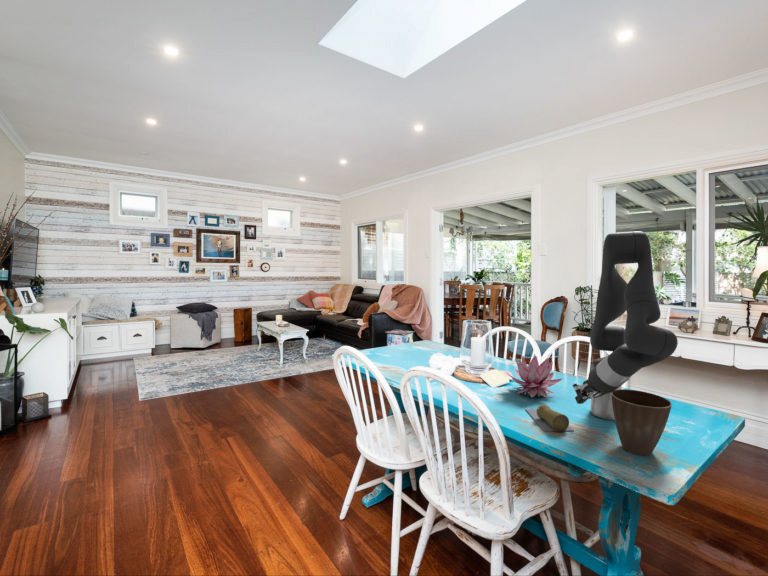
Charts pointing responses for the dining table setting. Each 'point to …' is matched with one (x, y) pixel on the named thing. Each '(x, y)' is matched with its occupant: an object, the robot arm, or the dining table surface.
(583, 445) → the dining table surface
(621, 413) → the plant pot
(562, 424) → the cork
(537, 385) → the decorative flower
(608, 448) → the dining table surface
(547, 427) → the mat
